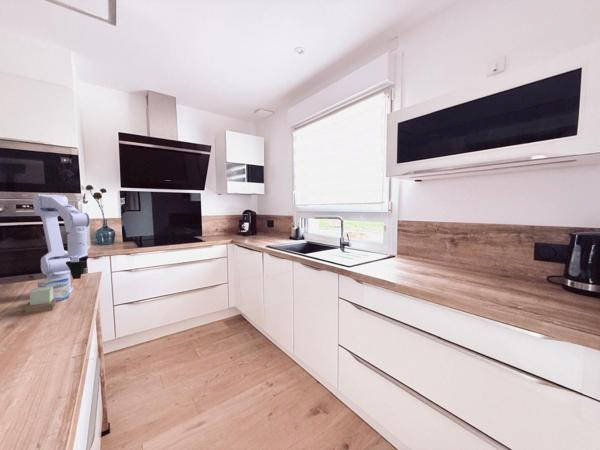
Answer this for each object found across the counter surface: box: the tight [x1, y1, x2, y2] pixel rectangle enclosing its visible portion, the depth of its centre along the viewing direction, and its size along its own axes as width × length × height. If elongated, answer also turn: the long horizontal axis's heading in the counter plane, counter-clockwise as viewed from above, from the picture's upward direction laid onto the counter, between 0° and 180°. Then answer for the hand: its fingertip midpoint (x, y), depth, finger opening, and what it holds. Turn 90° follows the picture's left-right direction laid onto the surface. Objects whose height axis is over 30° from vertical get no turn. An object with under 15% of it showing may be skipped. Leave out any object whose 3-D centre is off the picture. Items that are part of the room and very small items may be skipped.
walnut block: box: [24, 298, 57, 316], centre depth 91 cm, size 7×7×3 cm
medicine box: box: [37, 277, 70, 303], centre depth 98 cm, size 8×4×9 cm, turn 168°
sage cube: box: [29, 286, 53, 306], centre depth 91 cm, size 5×5×5 cm
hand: (78, 276), depth 98 cm, fingers open, 7 cm apart
